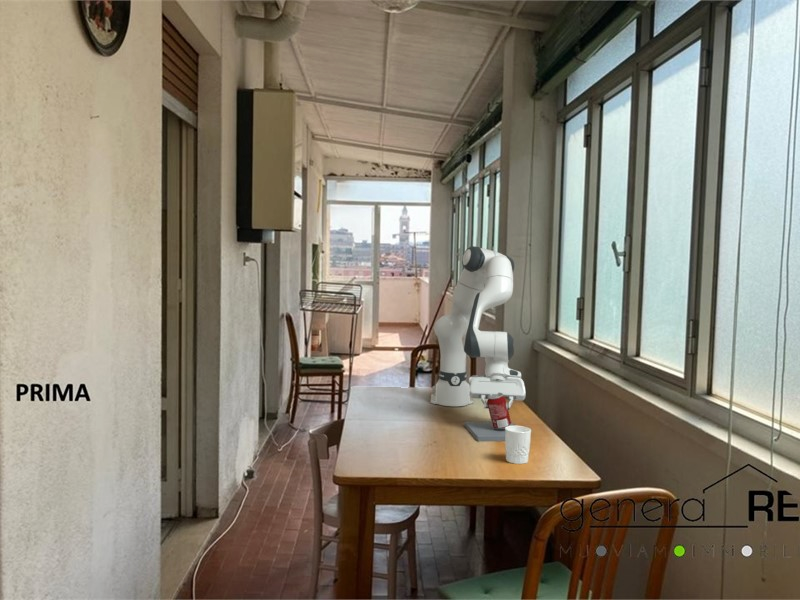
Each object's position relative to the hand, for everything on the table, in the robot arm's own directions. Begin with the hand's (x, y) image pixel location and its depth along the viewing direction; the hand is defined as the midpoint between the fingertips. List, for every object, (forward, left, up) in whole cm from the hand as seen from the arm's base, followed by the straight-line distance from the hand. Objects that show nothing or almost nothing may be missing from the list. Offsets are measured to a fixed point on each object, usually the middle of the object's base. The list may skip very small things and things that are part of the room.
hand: (497, 408), depth 217 cm
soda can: (-1, +2, -7) cm, 8 cm away
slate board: (-2, 0, -9) cm, 10 cm away
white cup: (+29, -2, -10) cm, 31 cm away
